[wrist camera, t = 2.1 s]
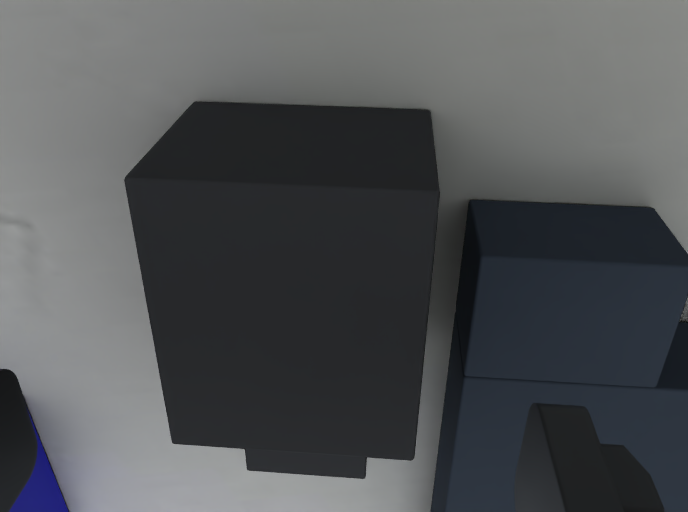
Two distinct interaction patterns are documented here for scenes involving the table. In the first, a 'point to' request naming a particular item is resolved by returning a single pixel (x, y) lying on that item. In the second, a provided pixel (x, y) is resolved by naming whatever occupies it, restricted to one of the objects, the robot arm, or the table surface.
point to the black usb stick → (290, 279)
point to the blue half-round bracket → (40, 487)
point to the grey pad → (564, 344)
